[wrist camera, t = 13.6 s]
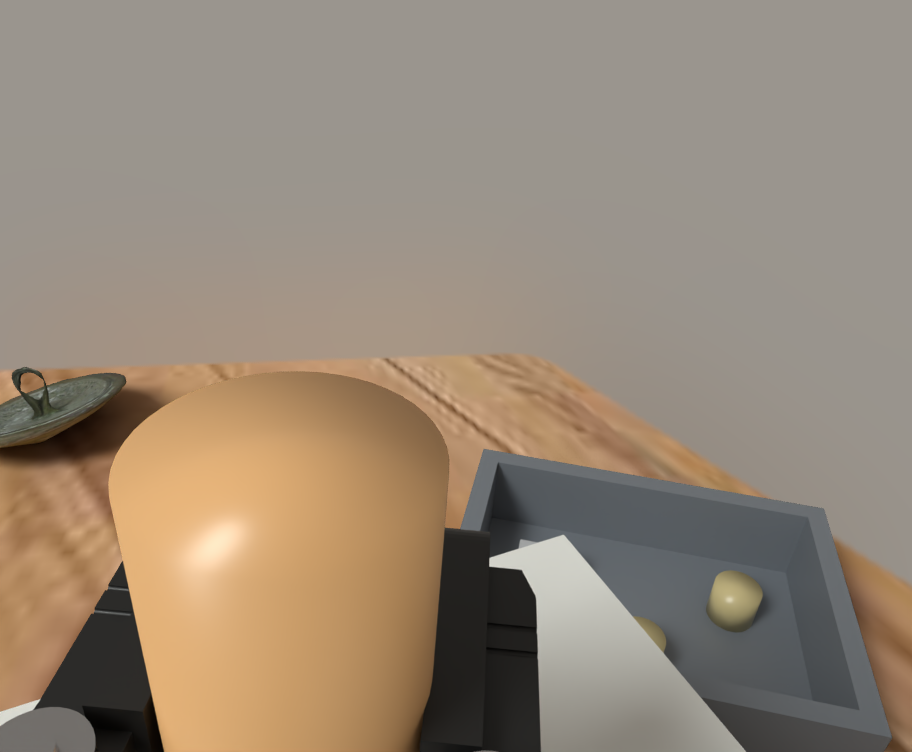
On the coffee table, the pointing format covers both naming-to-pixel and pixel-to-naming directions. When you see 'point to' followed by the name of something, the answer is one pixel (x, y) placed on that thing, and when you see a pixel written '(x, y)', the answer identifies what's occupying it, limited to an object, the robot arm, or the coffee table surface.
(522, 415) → the coffee table surface
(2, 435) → the lid
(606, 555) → the parts tub
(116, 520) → the tub lid
